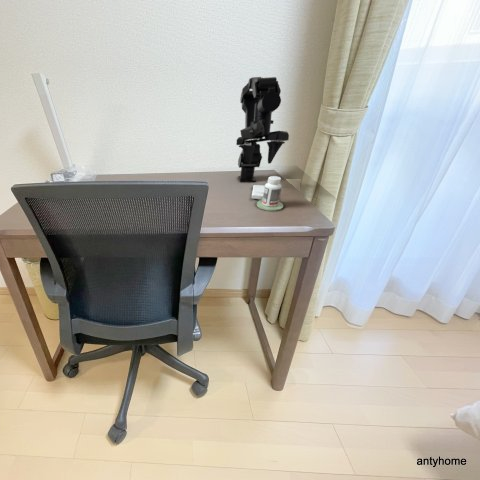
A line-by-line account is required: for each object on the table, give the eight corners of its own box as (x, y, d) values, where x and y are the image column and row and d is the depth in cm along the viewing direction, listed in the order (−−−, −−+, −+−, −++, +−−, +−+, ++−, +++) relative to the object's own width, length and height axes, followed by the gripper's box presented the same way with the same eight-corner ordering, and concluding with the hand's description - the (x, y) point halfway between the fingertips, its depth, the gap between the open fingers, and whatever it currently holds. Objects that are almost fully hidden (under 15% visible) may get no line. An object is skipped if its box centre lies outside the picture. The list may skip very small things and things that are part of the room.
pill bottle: (279, 202, 94) (284, 176, 88) (276, 208, 90) (281, 181, 85) (263, 200, 96) (268, 174, 91) (260, 205, 92) (264, 179, 87)
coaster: (254, 200, 97) (254, 199, 97) (278, 200, 96) (279, 199, 96) (259, 211, 90) (259, 209, 89) (286, 210, 89) (286, 209, 89)
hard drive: (273, 190, 105) (274, 200, 95) (252, 188, 108) (251, 198, 98) (274, 186, 104) (275, 196, 94) (253, 184, 107) (251, 194, 97)
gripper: (226, 120, 95) (224, 164, 99) (269, 110, 79) (264, 162, 83) (248, 123, 100) (245, 164, 104) (292, 113, 84) (287, 163, 88)
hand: (258, 163), depth 94 cm, fingers open, 9 cm apart
